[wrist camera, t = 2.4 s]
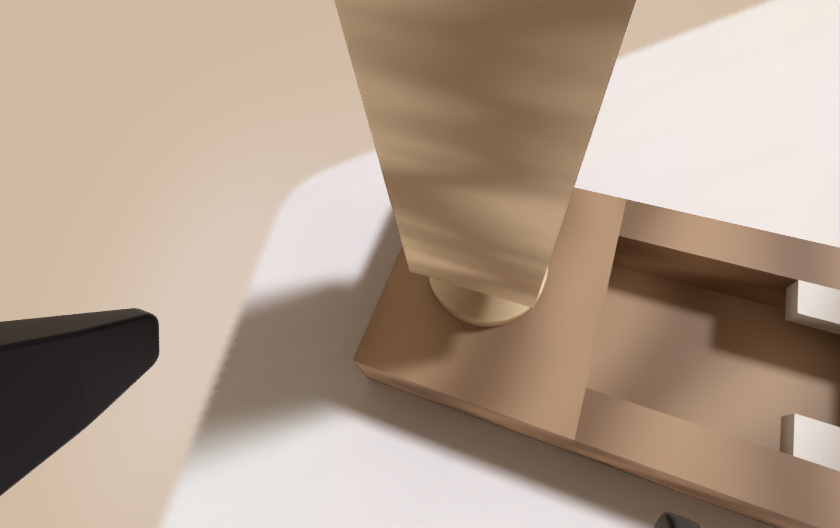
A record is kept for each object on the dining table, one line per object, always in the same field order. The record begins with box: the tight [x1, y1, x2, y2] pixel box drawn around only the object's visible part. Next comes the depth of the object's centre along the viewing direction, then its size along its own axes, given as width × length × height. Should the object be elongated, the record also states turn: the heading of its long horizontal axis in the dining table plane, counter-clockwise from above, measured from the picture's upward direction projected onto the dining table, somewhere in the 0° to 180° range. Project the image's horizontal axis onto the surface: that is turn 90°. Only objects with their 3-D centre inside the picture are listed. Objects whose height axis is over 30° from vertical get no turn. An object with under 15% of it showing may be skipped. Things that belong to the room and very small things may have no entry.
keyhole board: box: [353, 188, 840, 528], centre depth 19 cm, size 24×11×3 cm, turn 69°
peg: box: [334, 0, 636, 327], centre depth 13 cm, size 5×5×15 cm
